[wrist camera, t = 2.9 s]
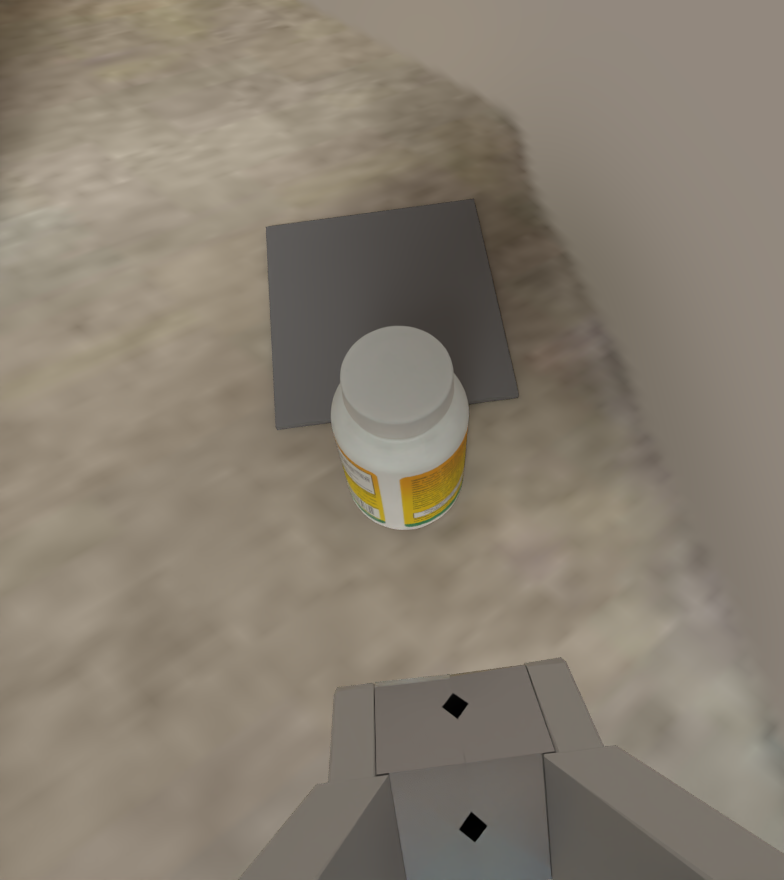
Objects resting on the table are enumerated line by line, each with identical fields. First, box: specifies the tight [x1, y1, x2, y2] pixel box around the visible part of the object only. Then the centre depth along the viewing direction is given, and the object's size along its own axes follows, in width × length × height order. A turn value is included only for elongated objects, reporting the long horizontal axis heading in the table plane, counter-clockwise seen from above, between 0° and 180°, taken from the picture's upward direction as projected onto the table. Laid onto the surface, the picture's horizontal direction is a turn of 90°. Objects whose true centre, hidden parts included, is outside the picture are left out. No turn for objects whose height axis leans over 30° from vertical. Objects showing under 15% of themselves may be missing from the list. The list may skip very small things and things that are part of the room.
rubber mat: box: [266, 199, 519, 430], centre depth 37 cm, size 12×13×1 cm
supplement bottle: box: [331, 326, 469, 530], centre depth 28 cm, size 5×5×10 cm
